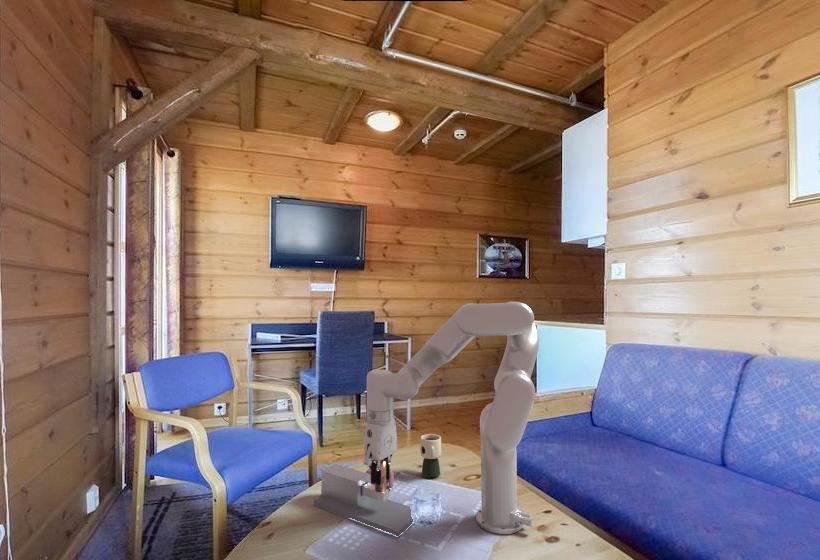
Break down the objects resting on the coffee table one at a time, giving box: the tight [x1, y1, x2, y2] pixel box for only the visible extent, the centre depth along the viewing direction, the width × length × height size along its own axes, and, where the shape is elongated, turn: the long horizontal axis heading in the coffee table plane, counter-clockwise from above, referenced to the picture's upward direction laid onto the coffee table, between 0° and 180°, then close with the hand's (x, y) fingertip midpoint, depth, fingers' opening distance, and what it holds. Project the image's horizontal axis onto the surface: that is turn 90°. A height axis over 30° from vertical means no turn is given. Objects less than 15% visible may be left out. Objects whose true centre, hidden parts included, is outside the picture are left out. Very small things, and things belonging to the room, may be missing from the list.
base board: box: [313, 496, 413, 536], centre depth 116 cm, size 30×12×2 cm, turn 57°
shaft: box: [361, 459, 390, 502], centre depth 118 cm, size 20×3×10 cm, turn 57°
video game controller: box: [365, 468, 395, 489], centre depth 131 cm, size 10×5×7 cm, turn 85°
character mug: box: [419, 433, 442, 479], centre depth 139 cm, size 11×7×13 cm, turn 4°
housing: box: [320, 463, 371, 509], centre depth 120 cm, size 14×6×7 cm, turn 57°
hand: (380, 480), depth 113 cm, fingers closed on shaft, 3 cm apart
